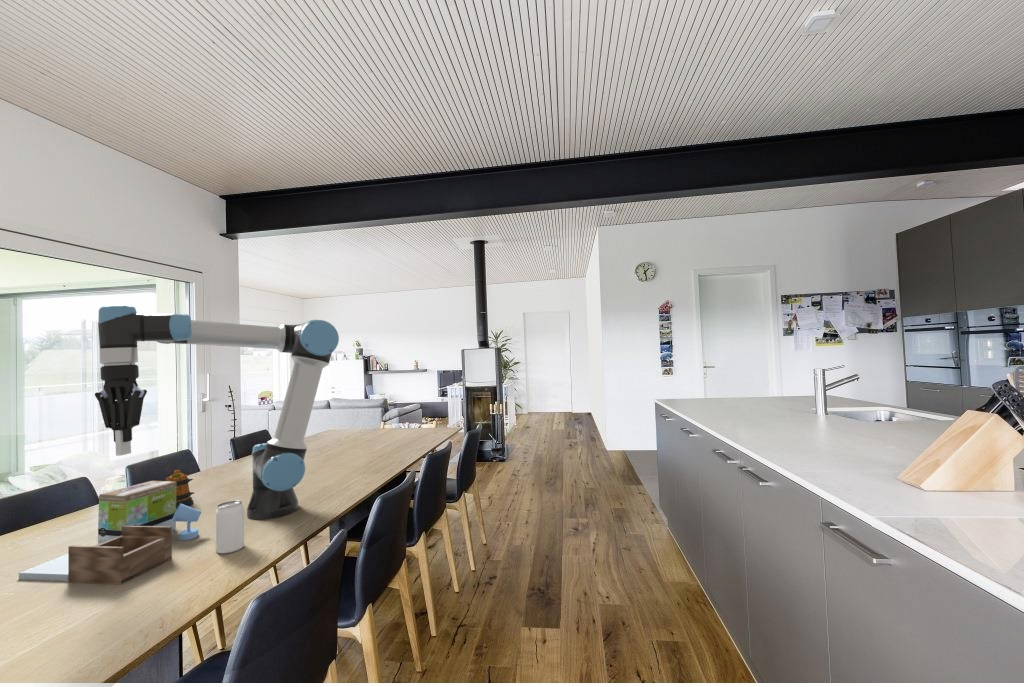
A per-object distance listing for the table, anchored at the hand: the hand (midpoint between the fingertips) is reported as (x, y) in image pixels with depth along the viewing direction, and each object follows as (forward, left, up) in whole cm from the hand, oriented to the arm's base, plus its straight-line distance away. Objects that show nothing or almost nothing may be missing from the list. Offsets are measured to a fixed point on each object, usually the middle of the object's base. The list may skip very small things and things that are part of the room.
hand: (123, 454), depth 117 cm
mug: (+9, -47, -27) cm, 55 cm away
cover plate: (+10, +3, -27) cm, 29 cm away
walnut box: (-4, +8, -27) cm, 28 cm away
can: (-26, +2, -27) cm, 37 cm away
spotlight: (-10, -11, -27) cm, 31 cm away
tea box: (+4, -15, -27) cm, 31 cm away
